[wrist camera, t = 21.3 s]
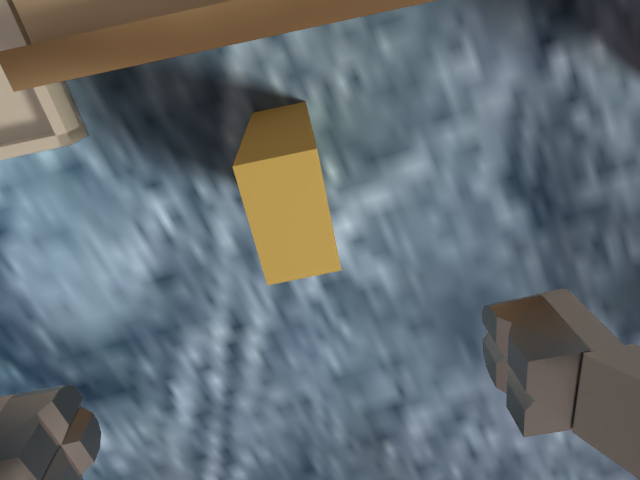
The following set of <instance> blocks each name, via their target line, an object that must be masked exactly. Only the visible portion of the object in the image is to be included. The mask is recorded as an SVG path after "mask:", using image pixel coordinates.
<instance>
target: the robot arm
mask: <svg viewBox="0 0 640 480" xmlns="http://www.w3.org/2000/svg"><path fill="white" fill-rule="evenodd" d="M482 322H483V324H484V325H485V327H486V329H487V330H488V333H487V334H486V335H485V337H484V338H483V339H482V341H483V355H484V359H485V363H486V367H487V370H488V372H489V375H490V377H491V379H492V381H493V383H494V385H495V386H496V388H498V389H500V390H501V391H503V392H505V393H506V394H507V408H508V410H509V412H510V414H511V415H512V417H513V419H514V421H515V422H516V424H517V426H518V428H519V430H520V431H521V433H522V435H523V437H527V436H534V435H540V434H547V433H553V432H560V431H566V430H573V431H572V432H573V433H574V434H576V435H577V436H579V437H580V438H581V439H583V440H584V441H586V442H587V443H589V444H590V445H591V446H593V447H594V448H596V449H597V450H598V451H600V452H601V453H603V454H604V455H606V456H607V457H608V458H610V459H611V460H613V461H614V462H615V463H617V464H618V465H620V466H621V467H623V468H624V469H625V470H627V471H628V472H630V473H631V474H632V475H634V476H635V477H637V478H638V479H640V346H637V345H635V344H630V345H624V344H623V343H622V342H620V341H619V340H618V339H617V338H616V337H615V336H614V335H613V334H612V333H611V332H610V331H609V330H608V329H607V328H606V327H605V326H604V325H603V324H602V323H601V322H600V321H599V320H598V319H597V318H596V317H595V316H594V315H593V314H592V313H591V312H590V311H589V310H588V309H587V308H586V307H585V306H584V305H583V304H582V303H581V302H580V301H579V300H578V299H577V298H576V297H575V296H574V295H573V294H572V293H571V292H570V291H568V290H565V289H559V290H554V291H549V292H545V293H540V294H537V295H533V296H528V297H523V298H518V299H513V300H508V301H503V302H498V303H492V304H487V305H484V308H483V311H482ZM82 400H83V397H82V396H81V394H80V393H79V391H78V390H77V389H76V387H75V386H69V385H64V386H58V387H52V388H46V389H40V390H34V391H28V392H22V393H18V394H13V395H7V396H1V397H0V480H83V477H82V474H83V473H84V472H85V471H86V470H87V469H88V468H89V467H90V466H91V465H92V464H93V463H94V462H95V459H96V457H97V454H98V451H99V449H100V439H101V431H100V427H99V423H98V421H97V419H96V417H95V416H94V414H93V413H92V412H90V411H88V410H86V409H84V408H82V407H81V403H82Z"/></svg>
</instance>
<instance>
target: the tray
mask: <svg viewBox="0 0 640 480" xmlns="http://www.w3.org/2000/svg"><path fill="white" fill-rule="evenodd" d="M31 44H32V43H31V41H30V38H29V36H28V34H27V32H26V30H25V27H24V25H23V23H22V21H21V19H20V16H19V14H18V12H17V10H16V8H15V5H14V3H13V1H12V0H0V51H4V50H8V49H13V48H17V47H22V46H26V45H31ZM86 136H88V133H87V131H86V129H85V126H84V124H83V122H82V120H81V117H80V115H79V113H78V110H77V108H76V106H75V104H74V101H73V99H72V97H71V94H70V92H69V90H68V88H67V85H66V83H65V81H62V82H57V83H53V84H48V85H43V86H39V87H34V88H30V89H25V90H20V91H16V92H14V91H13V89H12V87H11V85H10V83H9V81H8V79H7V77H6V75H5V73H4V71H3V69H2V67H1V65H0V160H2V159H7V158H12V157H16V156H21V155H26V154H30V153H35V152H40V151H44V150H49V149H54V148H58V147H63V146H68V145H73V144H74V143H76V142H78V141H79V140H81V139H83V138H85V137H86Z"/></svg>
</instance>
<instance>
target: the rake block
mask: <svg viewBox="0 0 640 480" xmlns="http://www.w3.org/2000/svg"><path fill="white" fill-rule="evenodd" d="M232 167H233V170H234V173H235V177H236V180H237V184H238V187H239V190H240V194H241V197H242V201H243V204H244V207H245V211H246V214H247V217H248V221H249V224H250V228H251V231H252V234H253V238H254V241H255V245H256V248H257V251H258V255H259V258H260V262H261V265H262V268H263V272H264V275H265V278H266V282H267V285H271V284H276V283H281V282H286V281H291V280H296V279H301V278H306V277H311V276H316V275H321V274H325V273H330V272H335V271H340V270H341V267H340V262H339V257H338V252H337V247H336V242H335V237H334V231H333V226H332V221H331V216H330V211H329V206H328V201H327V196H326V191H325V186H324V181H323V176H322V171H321V166H320V161H319V156H318V151H317V147H316V142H315V138H314V134H313V130H312V126H311V122H310V118H309V114H308V110H307V105H306V101H305V102H301V103H296V104H291V105H286V106H282V107H277V108H272V109H268V110H263V111H258V112H254V113H252V115H251V118H250V120H249V123H248V126H247V128H246V131H245V134H244V137H243V139H242V142H241V145H240V147H239V150H238V153H237V155H236V158H235V161H234V164H233V166H232Z"/></svg>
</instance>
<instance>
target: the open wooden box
mask: <svg viewBox="0 0 640 480" xmlns="http://www.w3.org/2000/svg"><path fill="white" fill-rule="evenodd" d="M12 1H13V3H14V5H15V8H16V10H17V12H18V14H19V16H20V19H21V21H22V23H23V25H24V27H25V30H26V32H27V34H28V36H29V38H30V41H31V43H32V44H31V45H26V46H22V47H17V48H13V49H8V50H4V51H0V65H1V67H2V69H3V71H4V73H5V75H6V77H7V79H8V81H9V83H10V85H11V87H12V89H13V91H14V92H16V91H20V90H25V89H30V88H34V87H39V86H43V85H48V84H53V83H57V82H62V81H67V80H71V79H76V78H80V77H85V76H90V75H94V74H99V73H103V72H108V71H113V70H117V69H122V68H127V67H131V66H136V65H140V64H145V63H150V62H154V61H159V60H163V59H168V58H173V57H177V56H182V55H186V54H191V53H196V52H200V51H205V50H210V49H214V48H219V47H223V46H228V45H233V44H237V43H242V42H246V41H251V40H256V39H260V38H265V37H270V36H274V35H279V34H283V33H288V32H293V31H297V30H302V29H306V28H311V27H316V26H320V25H325V24H329V23H334V22H339V21H343V20H348V19H353V18H357V17H362V16H366V15H371V14H376V13H380V12H385V11H389V10H394V9H399V8H403V7H408V6H413V5H417V4H422V3H426V2H431V1H436V0H12Z"/></svg>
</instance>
